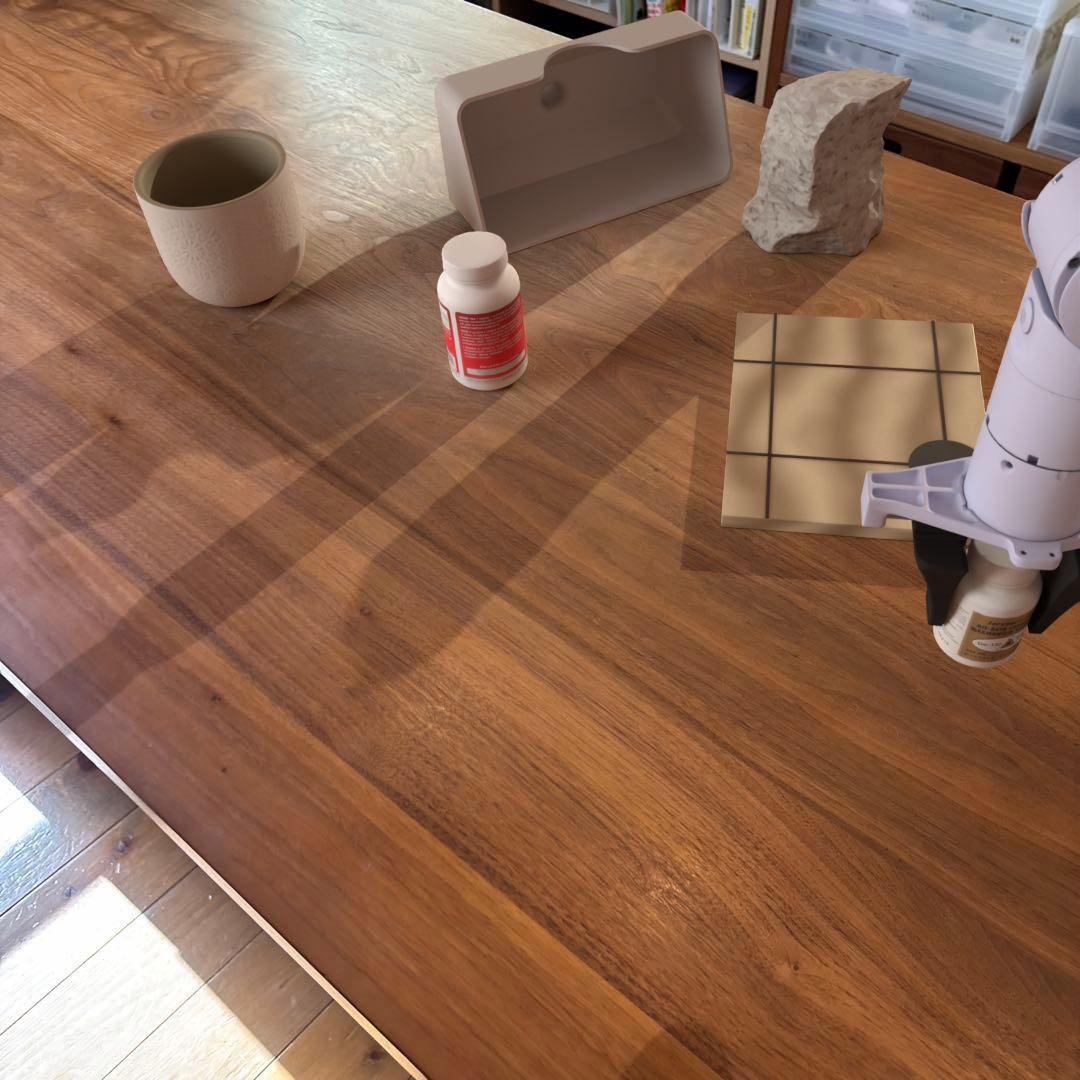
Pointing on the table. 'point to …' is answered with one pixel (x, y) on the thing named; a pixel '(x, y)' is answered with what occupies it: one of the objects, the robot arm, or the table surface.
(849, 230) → the decorative stone
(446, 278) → the pill bottle
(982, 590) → the pill bottle
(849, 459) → the board
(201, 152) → the planter
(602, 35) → the grey storage bin
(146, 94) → the table surface
